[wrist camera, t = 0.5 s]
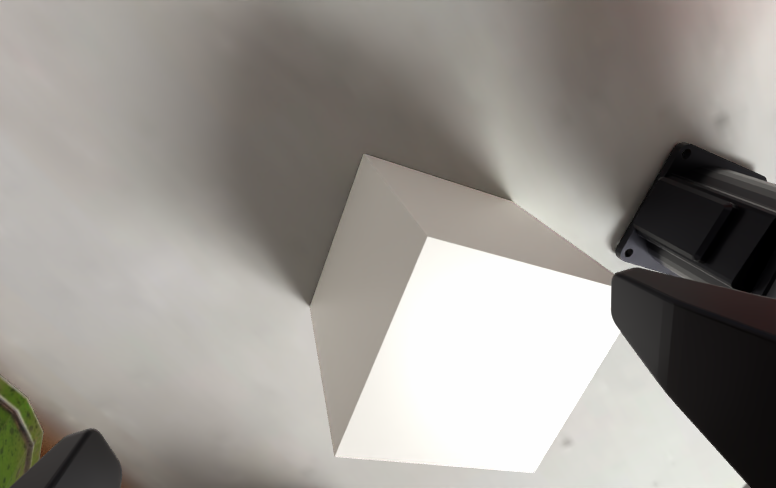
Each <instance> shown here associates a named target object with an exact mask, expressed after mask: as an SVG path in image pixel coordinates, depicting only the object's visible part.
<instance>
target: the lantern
mask: <svg viewBox="0 0 776 488" xmlns="http://www.w3.org/2000/svg"><path fill="white" fill-rule="evenodd" d="M42 439H43V430H42V428H41V426H40V423H39V421H38V419H37V417H36V415H35V413H34V411H33V408H32V406H31V404H30V402H29V400H28V398H27V397H26V396H25V395H24V394H23V393H21V392H20V391H19V390H18V389H17V388H15V387H14V386H13V385H12V384H11V383H9V382H8V381H7V380H6V379H5V378H3V377H2V376H1V375H0V488H9V487H10V486H12V485H13V484H14V483H15V482H16V481H17V480H18V479H19V478H20V477H21V476H22V475H23V474H25V473H26V472H27V471H28V470H29V469H30V468H31V467H32V466H33V465H34V464H35V463H37V462H38V461H39V459H40V452H41V445H42Z"/></svg>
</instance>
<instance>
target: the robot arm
mask: <svg viewBox="0 0 776 488" xmlns="http://www.w3.org/2000/svg"><path fill="white" fill-rule="evenodd" d="M684 150H685V151H684ZM683 152H684V154H683V155H682V153H683ZM626 250H628V251H627V252H626ZM625 252H626V253H625ZM616 256H617V257H618V258H620V259H621V260H623V261H625V262H628V263H632V264H635V265H638V266H642V267H645V268H648V269H652V270H655V271H658V272H655V271H651V270H646V269H642V268H631V269H627V270H624V271H620V272H617V273H615V274H614V275H613V277H612V279H611V316H612V319H613V321H614V323H615V325H616V326H617V327H618V329H619V330H620V332H621V333H622V334H623V336H624V337H625V338H626V340H627V341H628V342H629V344H630V345H631V347H632V348H633V349H634V351H635V352H636V353H637V355H638V356H639V357H640V359H641V360H642V362H643V363H644V364H645V366H646V367H647V368H648V370H649V371H650V373H651V374H652V375H653V377H654V378H655V379H656V381H657V382H658V383H659V385H660V386H661V387H662V388H663V390H664V391H665V392H666V393H667V395H668V396H669V397H670V398H671V399H672V400H673V402H674V403H675V404H676V405H677V406H678V407H679V408H680V410H681V411H682V412H683V413H684V414H685V415H686V416H687V417H688V418H689V420H690V421H691V422H692V423H693V424H694V425H695V426H696V427H697V428H698V430H699V431H700V432H701V433H702V434H703V435H704V436H705V437H706V438H707V440H708V441H709V442H710V443H711V444H712V445H713V446H714V447H715V448H716V450H717V451H718V452H719V453H720V454H721V455H722V456H723V457H724V458H725V460H726V461H727V462H728V463H729V464H730V465H731V466H732V467H733V468H734V470H735V471H736V472H737V473H738V474H739V475H740V476H741V477H742V478H743V480H744V481H745V482H746V483H747V484H748V485H749V486H750V487H751V488H776V184H773V183H769V182H767V180H766V178H765V177H764V176H762V175H760V174H758V173H755V172H753V171H751V170H749V169H746V168H744V167H742V166H740V165H737V164H735V163H733V162H731V161H728V160H726V159H724V158H722V157H719V156H717V155H715V154H713V153H710V152H708V151H706V150H704V149H701V148H699V147H697V146H695V145H692V144H689V143H686V142H681V143H678V144H677V145H676V146H675V147H674V148H673V150H672V152H671V153H670V155H669V157H668V159H667V160H666V162H665V164H664V166H663V167H662V169H661V171H660V173H659V174H658V176H657V178H656V180H655V181H654V183H653V185H652V187H651V188H650V190H649V192H648V194H647V195H646V197H645V199H644V201H643V203H642V204H641V206H640V208H639V210H638V211H637V213H636V215H635V217H634V218H633V220H632V222H631V224H630V225H629V227H628V229H627V231H626V232H625V234H624V236H623V238H622V239H621V241H620V243H619V245H618V246H617V248H616ZM659 272H662V273H659ZM664 273H665V274H664ZM668 274H669V275H668ZM121 480H122V469H121V465H120V462H119V460H118V459H117V457H116V455H115V454H114V452H113V451H112V449H111V448H110V446H109V445H108V443H107V442H106V440H105V439H104V437H103V436H102V434H101V433H100V432H99V431H98V430H96V429H87V430H83V431H80V432H76V433H73V434H70V435H67V436H66V437H64V438H63V439H62V440H61V441H59V442H58V443H57V444H56V445H55V446H54V447H53V448H52V449H51V450H50V451H49V452H47V453H46V454H45V455H44V456H43V457H42V458H41V459H40V460H39V461H38V462H37V463H35V464H34V465H33V466H32V467H31V468H30V469H29V470H28V471H27V472H26V473H25V474H23V475H22V476H21V477H20V478H19V479H18V480H17V481H16V482H15V483H14V484H13V485H12V486H10V487H9V488H121Z"/></svg>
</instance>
